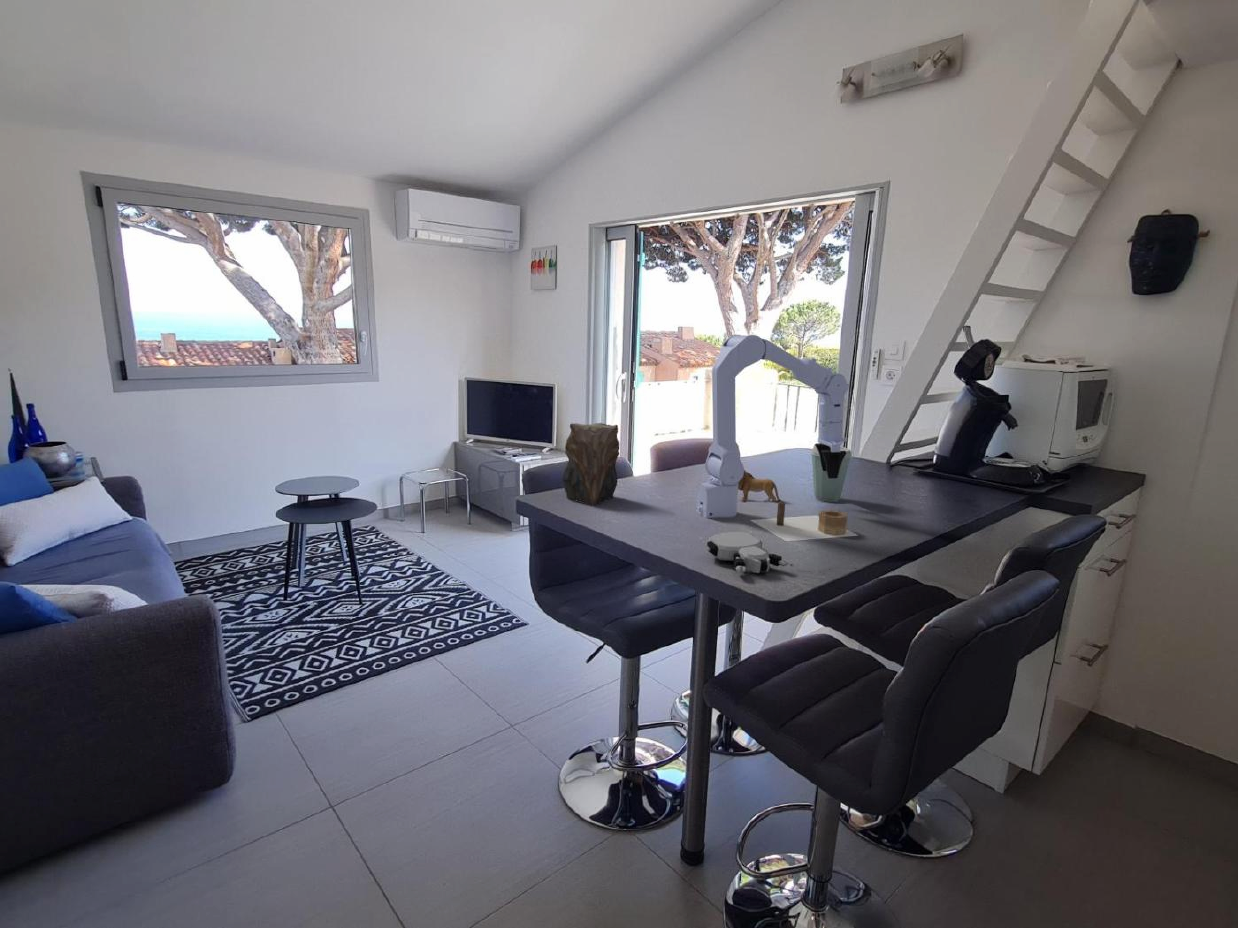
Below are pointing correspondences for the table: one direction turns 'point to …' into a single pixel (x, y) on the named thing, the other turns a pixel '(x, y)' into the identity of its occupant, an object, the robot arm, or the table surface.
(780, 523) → the rod
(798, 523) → the white flat rectangular panel
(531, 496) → the table surface
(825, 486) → the disposable coffee cup
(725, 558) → the robot toy
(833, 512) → the oak bead
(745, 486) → the lion figurine
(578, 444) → the owl
